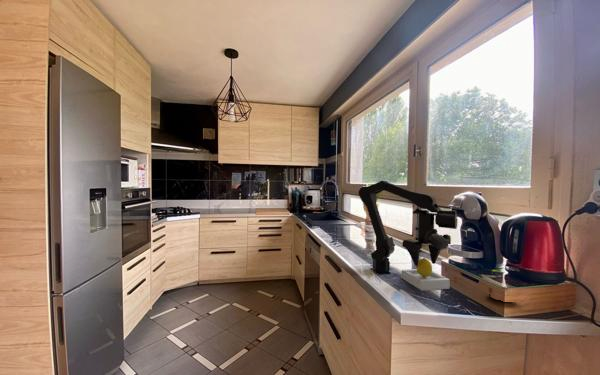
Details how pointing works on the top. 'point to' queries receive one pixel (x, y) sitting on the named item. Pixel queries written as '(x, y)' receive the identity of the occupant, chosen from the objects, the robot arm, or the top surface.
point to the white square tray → (425, 280)
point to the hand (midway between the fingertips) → (425, 264)
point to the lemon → (424, 268)
